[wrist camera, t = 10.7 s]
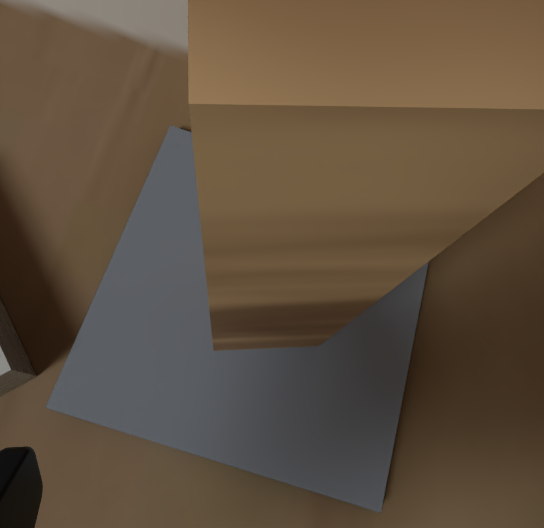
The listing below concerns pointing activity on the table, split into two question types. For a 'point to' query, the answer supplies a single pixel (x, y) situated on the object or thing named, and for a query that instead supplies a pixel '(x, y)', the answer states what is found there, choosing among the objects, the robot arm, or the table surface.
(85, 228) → the table surface
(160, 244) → the grey square plate
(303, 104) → the tall wooden block
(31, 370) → the white square ring
